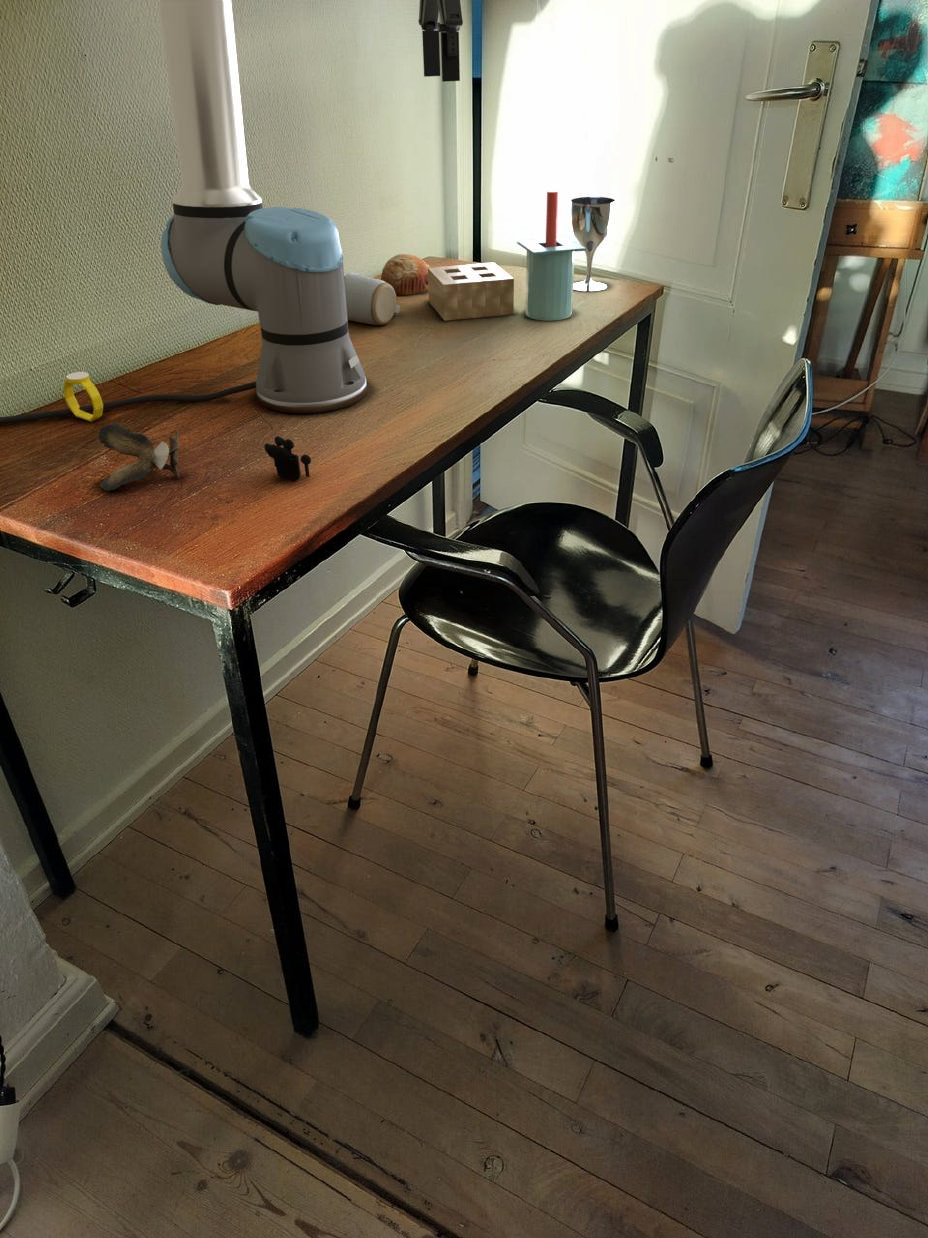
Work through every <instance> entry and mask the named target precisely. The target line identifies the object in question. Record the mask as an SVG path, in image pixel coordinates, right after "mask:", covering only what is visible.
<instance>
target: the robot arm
mask: <svg viewBox="0 0 928 1238" xmlns="http://www.w3.org/2000/svg"><path fill="white" fill-rule="evenodd" d="M157 1H158V9H159V10H158V11H159V17H160V18H159V19H160V25H161V33H162V40H163V41H162V42H163V48H164V55H165V64H166V71H167V78H168V86H169V94H170V103H171V107H172V108H171V111H172V116H173V125H174V133H175V140H176V141H175V142H176V147H177V149H176V150H177V155H178V163H179V171H180V178H181V179H180V180H181V186H180V188H179V190H178V191H177V192H176V193H175V195H174V196H173V198H172V199H171V200H172V210H173V214H172V215H171V216H170V217H169V218H168V220H167V221H166V223H165V227H166V228H165V229H164V230H162V233H161V239H160V251H161V258H162V261H163V264H164V267H165V270H166V272H167V275H168V276H169V277H170V279H171V281H172V282H173V283H174V285H176V286H177V288H178V289H180V290H181V291H182V292H183V293H185V294H186V295H188V296H189V297H192V298H194V299H195V300H200V301H202V302H204V303H206V304H209V305H213V306H214V305H215V306H226V307H230V308H235V309H241V310H248V311H252V312H257V314H258V320H259V327H260V333H261V340H262V341H261V343H262V344H261V349H260V356H259V360H258V361H259V362H258V368H257V374H256V380H255V381H252V382H248V383H243V384H240V385H235V386H232V387H229V388H225V389H222V390H219V391H216V392H212V393H205V394H174V393H172V394H171V393H170V394H167V393H165V394H150V395H148V394H147V395H142V396H134V397H128V398H123V399H118V400H113V401H107V402H102V403H103V411H105V410H109V409H115V408H120V407H125V406H126V407H127V406H131V405H137V404H144V403H153V402H182V403H183V402H185V403H186V402H187V403H188V402H189V403H197V402H200V403H201V402H209V401H214V400H218V399H221V398H225V397H228V396H231V395H234V394H239V393H242V392H246V391H250V390H254V389H255V392H256V398H257V402H259V404H260V405H261V406H263V407H264V408H267V409H270V410H272V411H276V412H281V413H287V414H289V413H290V414H317V413H325V412H330V411H336V410H340V409H342V408H346V407H349V406H351V405H353V404H356V403H357V402H359V401H360V400H362V399H363V398H364V397H365V396H366V394H367V392H368V385H367V378H366V374H365V370H364V369H363V366H362V363H361V361H360V359H359V356H358V355H357V354H358V353H357V351H356V350H355V347H354V344H353V342H352V340H351V337H350V332H349V331H350V330H349V322H348V321H349V320H347V307H346V294H345V281H344V276H345V269H344V254H343V253H344V252H343V249H342V246H341V241H340V240H341V239H340V234H339V230H338V227H337V225H336V223H335V222H334V221H333V220H332V219H331V218H329V217H328V216H326V215H325V214H323V213H320V212H318V211H314V210H312V209H306V208H301V207H293V208H291V207H286V206H272V207H269V206H268V207H263V199H262V197H261V196H260V195H258V193H257V192H256V191H255V190H253V188H252V187H251V185H250V181H249V171H248V161H247V151H246V140H245V139H246V138H245V132H244V131H245V130H244V120H243V108H242V98H241V87H240V77H239V66H238V56H237V55H238V54H237V45H236V34H235V25H234V14H233V13H234V12H233V3H232V0H157ZM418 9H419V11H418V25H419V26H420V27H421V34H422V59H423V61H422V62H423V77H424V78H425V77H426V78H427V77H429V78H430V77H441V82H444V83H445V82H460V81H461V70H460V69H461V68H460V63H461V62H460V30H461V27H463V25H464V19H463V12H462V3H461V0H419V8H418ZM439 18H440V22H439ZM79 409H80V410H82V411H84V412H87V413H91V412H92V413H93V410H94V408H93V404H87V405H80V407H79ZM72 415H74V413H73V412H72V411H71V410H70V408H69V407H68V408H61V409H53V410H48V411H47V410H46V411H40V412H32V413H23V414H16V415H8V416H0V425H4V424H14V423H21V422H30V421H37V420H45V419H52V418H59V417H66V416H72Z"/></svg>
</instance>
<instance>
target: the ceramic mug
mask: <svg viewBox="0 0 928 1238" xmlns="http://www.w3.org/2000/svg"><path fill="white" fill-rule="evenodd" d="M344 281H345V294H346V307H347V321H350V322H355V323H360V324H361V323H362V324H367V325H373V326H383V325H386V324H388V323H389V322H390V321H391V320H392V318H393V316H394V315H396V316H397V315H399V313H400V305H399V304H397V295H396V294H395V291H394V289H393V287H392V286H391V285H390V284H388V283H386V282H384V281H382V280H381V279H380V278H379V279H378V278H373V277H370V276H366V275H362V274H359V273H355V272H349V273H347V274H344Z"/></svg>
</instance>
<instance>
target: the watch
mask: <svg viewBox="0 0 928 1238" xmlns="http://www.w3.org/2000/svg"><path fill="white" fill-rule="evenodd" d="M74 385H80V386H81V387H82V388H83V389H84V390H85V391H86V393H87V395H88V396H89V398H90V400H91V405H93V408H94V410H93V411H92V414H91V413H90V412H84V411H82V410H80V409H79V407H81V405H80V404H79V402H78V400H77V398H76V396H75V392H74ZM62 391H63V392H62V393H63V397H64V400H65V403H66V405H67V406H68V408H70V410H71V411H72V412H73V413H74V414H73V415H74V417H76V418H79V419H81V420H82V419H83V420H85V421H88V422H91V423H93V422H95V421H97V420H99V419H100V418H101V417H102V416H103V413H104V412H103V411H104V410H103V403H104V402H103V400H102V396H101V394H100V392H99V390H98V388H97V387H96V386H95V384H94V383H93V382H92V381H91V379H90V374H89V372H85V371H76V372H72V373H69V374H67V375H66V379H65V380H64V381H63V386H62Z"/></svg>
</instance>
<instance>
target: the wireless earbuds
mask: <svg viewBox="0 0 928 1238" xmlns="http://www.w3.org/2000/svg"><path fill="white" fill-rule="evenodd" d="M294 448H295V443H294V441H292V439H289V438H287V439H284V438H283V437H281V436H278V435H277V436H275V437H274V444H271V443H268V442H267V443H265V444H264V451H265V453H266V454H267V455H268V456H269V457H270V458H271V459H273V463H274V467H275V470H276V474H277V476H278V477H280V478H282V479H285V480H288V481H292V482H297V481H299V480H300V479H301V476H302V474H301V466H300V462H301V464H303V465H304V473H305V478H309V477H310V476H311V475H310V468H309V465H310V464H311V463H312V458H311V457H310V456H309V455H308V454H302V455H301V457H300V459H299V455H298V454H295V453H293V451H292V450H293V449H294Z"/></svg>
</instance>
